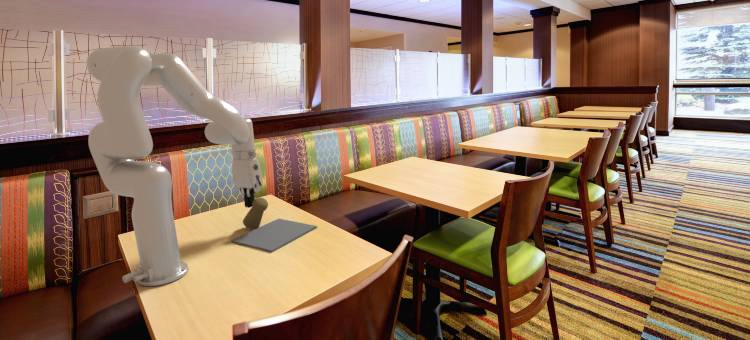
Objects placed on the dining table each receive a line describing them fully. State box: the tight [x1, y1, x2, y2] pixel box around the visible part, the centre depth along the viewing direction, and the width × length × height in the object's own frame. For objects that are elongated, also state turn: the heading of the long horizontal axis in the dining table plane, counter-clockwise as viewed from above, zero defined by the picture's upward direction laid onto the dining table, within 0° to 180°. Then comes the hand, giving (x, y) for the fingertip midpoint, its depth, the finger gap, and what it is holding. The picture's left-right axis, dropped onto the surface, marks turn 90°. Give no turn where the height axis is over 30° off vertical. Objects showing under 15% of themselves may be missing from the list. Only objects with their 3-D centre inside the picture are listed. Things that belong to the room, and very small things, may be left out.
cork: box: [242, 196, 269, 230], centre depth 139 cm, size 6×6×11 cm
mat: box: [230, 218, 318, 253], centre depth 134 cm, size 22×18×1 cm
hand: (250, 206), depth 139 cm, fingers closed
